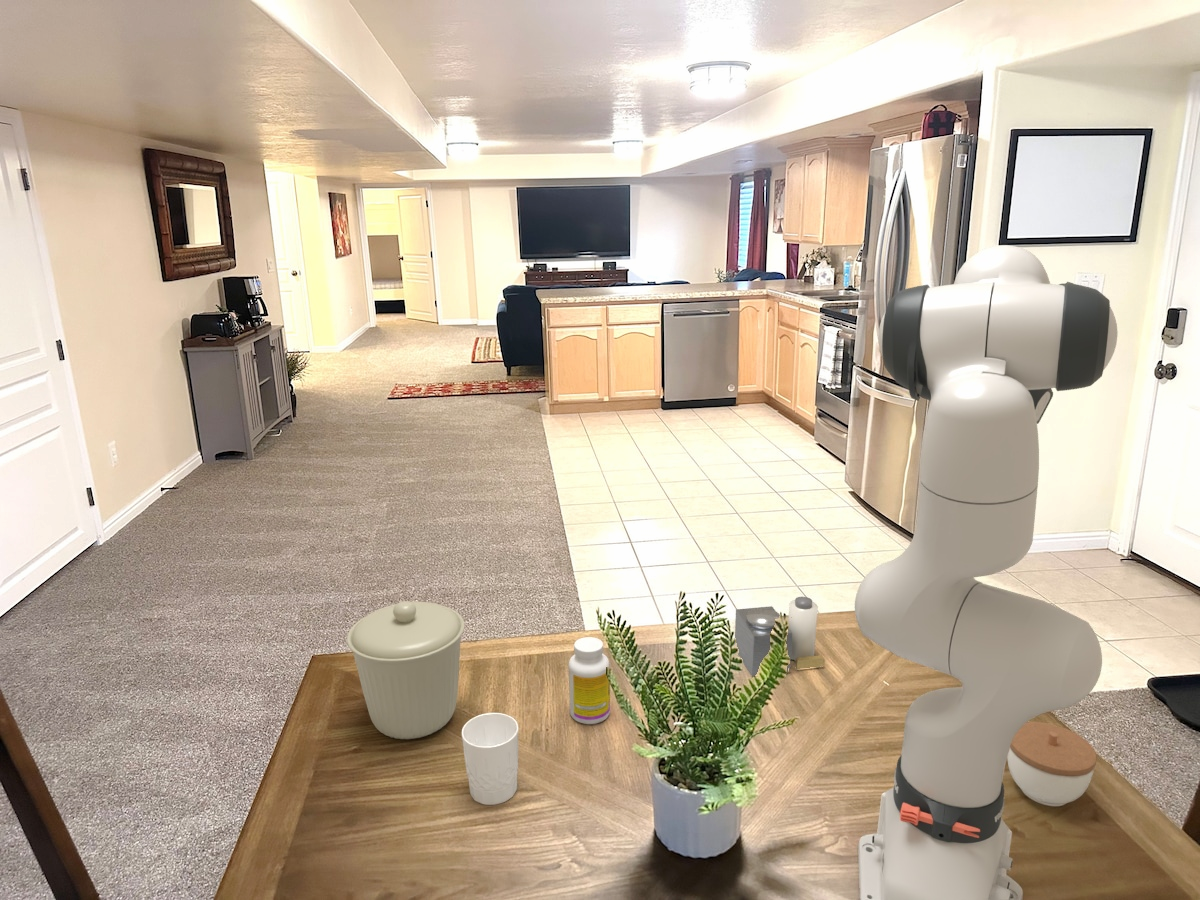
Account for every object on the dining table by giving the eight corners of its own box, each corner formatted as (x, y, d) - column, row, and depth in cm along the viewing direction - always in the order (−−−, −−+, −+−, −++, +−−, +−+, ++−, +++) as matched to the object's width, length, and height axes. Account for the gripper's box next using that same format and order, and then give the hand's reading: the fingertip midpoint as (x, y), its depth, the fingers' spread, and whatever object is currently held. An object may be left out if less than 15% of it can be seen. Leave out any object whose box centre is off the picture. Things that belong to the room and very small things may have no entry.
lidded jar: (1101, 822, 107) (1113, 763, 104) (1015, 814, 109) (1025, 755, 106) (1069, 769, 117) (1079, 714, 115) (991, 762, 119) (999, 708, 116)
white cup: (532, 782, 116) (529, 722, 113) (498, 816, 110) (495, 754, 107) (489, 764, 120) (485, 706, 117) (454, 796, 114) (449, 735, 111)
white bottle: (810, 664, 145) (814, 609, 142) (783, 657, 147) (786, 603, 144) (817, 651, 149) (820, 597, 146) (790, 645, 151) (793, 592, 148)
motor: (824, 669, 144) (827, 624, 141) (752, 676, 142) (754, 631, 139) (796, 633, 156) (799, 591, 153) (729, 639, 154) (731, 597, 151)
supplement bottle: (616, 720, 130) (615, 650, 126) (578, 730, 128) (576, 658, 124) (601, 698, 136) (600, 630, 132) (564, 707, 134) (562, 638, 130)
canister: (412, 770, 119) (400, 644, 113) (333, 729, 129) (318, 611, 123) (493, 709, 133) (486, 594, 127) (416, 677, 143) (406, 568, 137)
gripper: (959, 437, 137) (922, 509, 139) (975, 440, 118) (932, 524, 120) (996, 453, 135) (958, 526, 138) (1018, 458, 116) (974, 543, 118)
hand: (946, 525), depth 129 cm, fingers open, 8 cm apart
